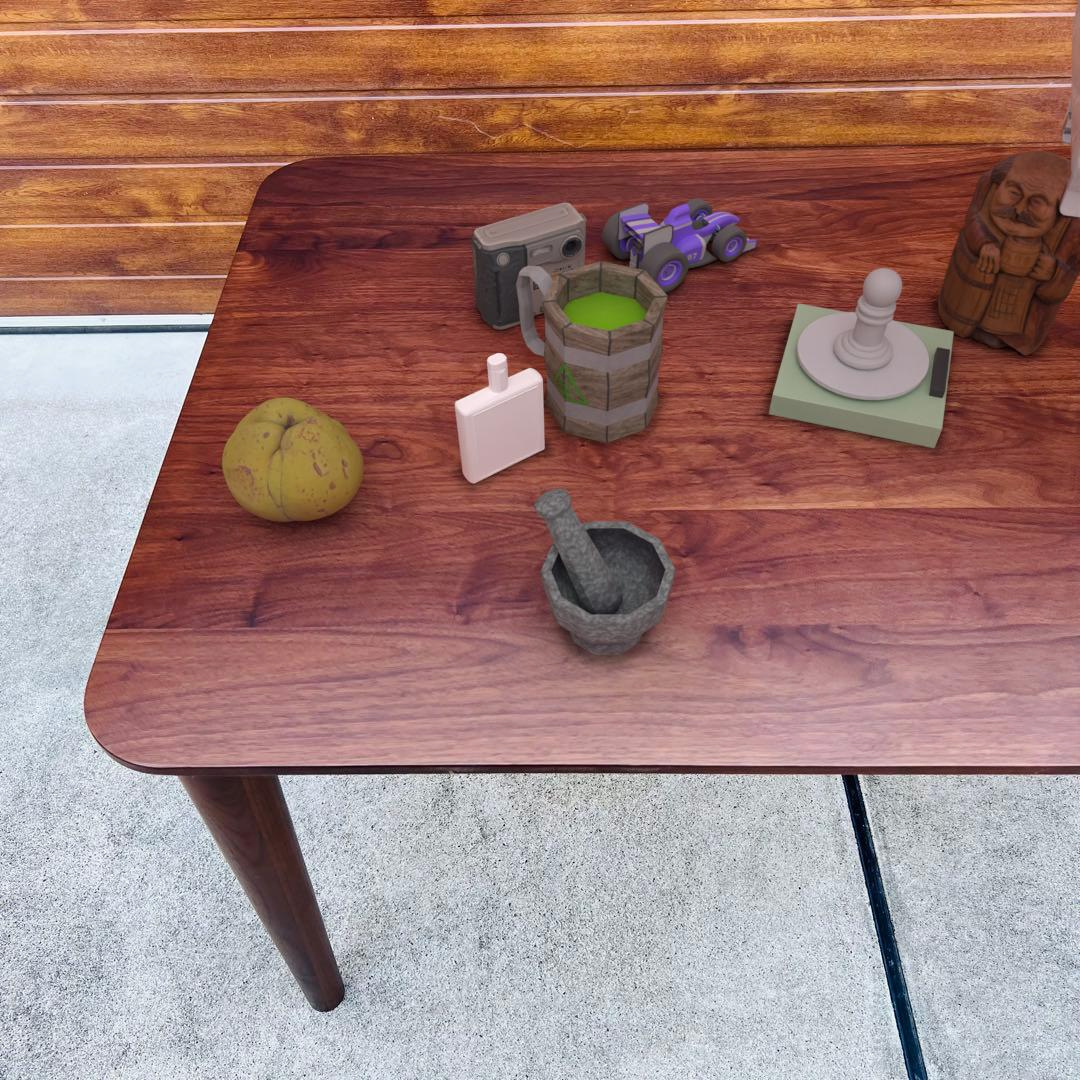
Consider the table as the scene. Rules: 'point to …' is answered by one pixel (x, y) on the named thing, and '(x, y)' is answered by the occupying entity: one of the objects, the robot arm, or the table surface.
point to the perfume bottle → (500, 421)
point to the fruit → (291, 462)
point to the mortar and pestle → (602, 577)
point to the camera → (523, 258)
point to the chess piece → (871, 323)
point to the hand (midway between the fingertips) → (1072, 173)
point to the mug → (597, 346)
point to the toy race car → (674, 240)
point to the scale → (864, 379)
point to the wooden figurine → (1013, 255)
